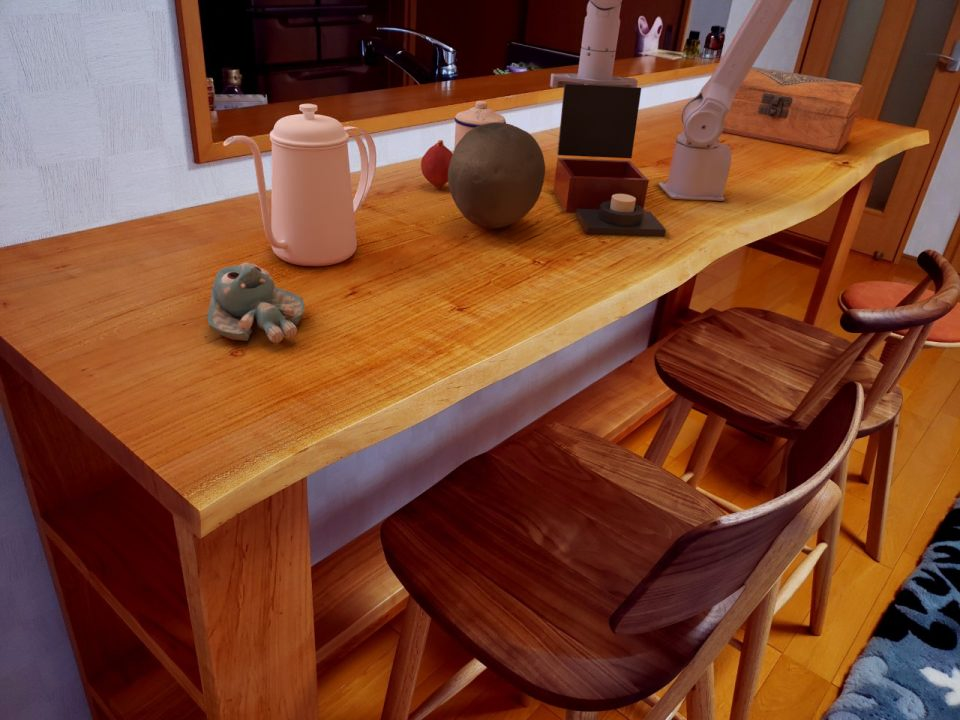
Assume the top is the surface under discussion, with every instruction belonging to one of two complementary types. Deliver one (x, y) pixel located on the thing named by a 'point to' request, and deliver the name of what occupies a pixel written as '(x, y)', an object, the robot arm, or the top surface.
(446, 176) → the onion
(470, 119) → the teacup with lid
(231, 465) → the top surface
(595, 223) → the switch block
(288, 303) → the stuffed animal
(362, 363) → the top surface
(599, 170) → the reddish-brown open box
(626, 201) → the button
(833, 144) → the wooden box
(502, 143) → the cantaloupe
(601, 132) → the box lid
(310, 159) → the coffeepot
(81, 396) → the top surface
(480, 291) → the top surface
